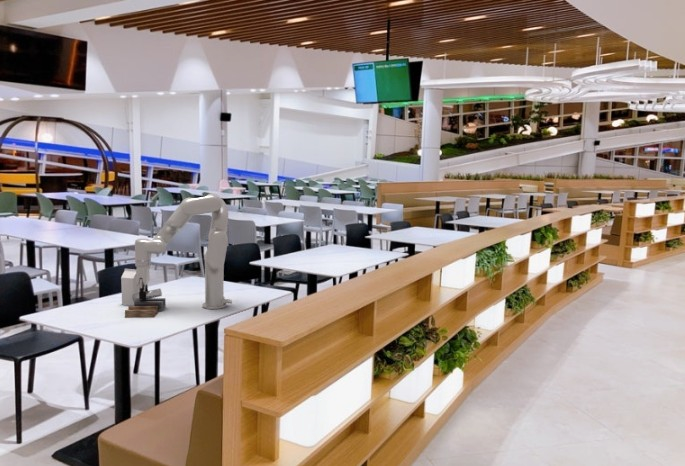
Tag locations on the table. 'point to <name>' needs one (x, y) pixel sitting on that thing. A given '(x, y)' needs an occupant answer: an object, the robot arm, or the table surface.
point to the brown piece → (141, 311)
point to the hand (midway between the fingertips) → (143, 297)
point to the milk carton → (129, 286)
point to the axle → (148, 295)
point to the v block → (152, 303)
